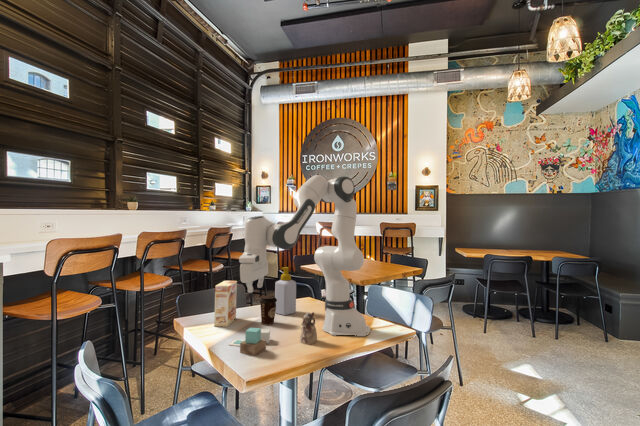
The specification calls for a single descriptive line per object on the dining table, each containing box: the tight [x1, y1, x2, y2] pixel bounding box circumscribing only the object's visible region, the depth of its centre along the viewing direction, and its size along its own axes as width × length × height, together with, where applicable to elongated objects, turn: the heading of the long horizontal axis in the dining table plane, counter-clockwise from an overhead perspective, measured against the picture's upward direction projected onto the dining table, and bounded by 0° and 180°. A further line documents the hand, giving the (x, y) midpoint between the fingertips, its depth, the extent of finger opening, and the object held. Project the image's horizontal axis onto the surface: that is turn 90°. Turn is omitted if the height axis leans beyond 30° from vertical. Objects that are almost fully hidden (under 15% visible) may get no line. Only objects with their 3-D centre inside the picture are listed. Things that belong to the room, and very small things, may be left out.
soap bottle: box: [274, 266, 297, 316], centre depth 185 cm, size 9×9×25 cm
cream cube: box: [261, 328, 271, 344], centre depth 141 cm, size 4×4×4 cm
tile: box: [228, 338, 245, 347], centre depth 138 cm, size 6×6×1 cm
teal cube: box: [244, 327, 262, 344], centre depth 130 cm, size 4×4×4 cm
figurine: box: [299, 311, 318, 345], centre depth 141 cm, size 7×7×12 cm
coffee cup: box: [259, 295, 277, 326], centre depth 166 cm, size 9×8×13 cm
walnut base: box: [239, 339, 267, 357], centre depth 130 cm, size 7×7×4 cm
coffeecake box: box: [213, 280, 238, 328], centre depth 167 cm, size 15×7×20 cm, turn 179°
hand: (255, 289), depth 136 cm, fingers open, 8 cm apart
